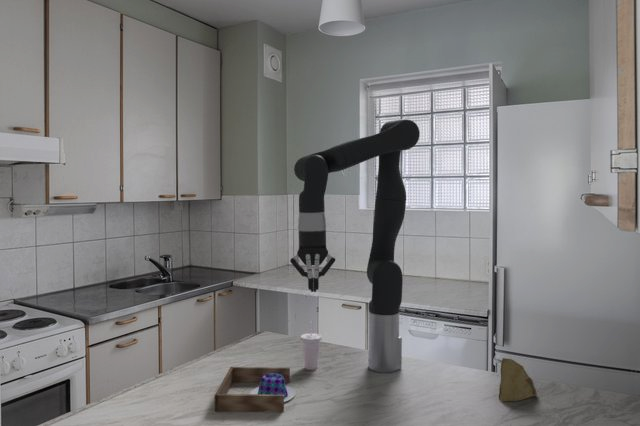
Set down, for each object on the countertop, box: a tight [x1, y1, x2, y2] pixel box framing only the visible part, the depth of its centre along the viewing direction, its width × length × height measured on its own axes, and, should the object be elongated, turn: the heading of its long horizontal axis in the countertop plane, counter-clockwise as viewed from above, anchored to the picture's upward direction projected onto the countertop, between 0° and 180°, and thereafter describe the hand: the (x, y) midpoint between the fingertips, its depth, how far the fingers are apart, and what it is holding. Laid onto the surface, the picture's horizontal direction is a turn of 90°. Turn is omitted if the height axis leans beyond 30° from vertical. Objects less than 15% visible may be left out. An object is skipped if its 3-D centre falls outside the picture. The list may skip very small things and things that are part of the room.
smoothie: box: [300, 321, 322, 371], centre depth 145 cm, size 6×6×14 cm
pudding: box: [249, 373, 296, 403], centre depth 125 cm, size 12×12×5 cm
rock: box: [498, 357, 538, 403], centre depth 124 cm, size 11×9×10 cm
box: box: [214, 366, 291, 413], centre depth 125 cm, size 17×19×4 cm
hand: (313, 291), depth 131 cm, fingers closed
